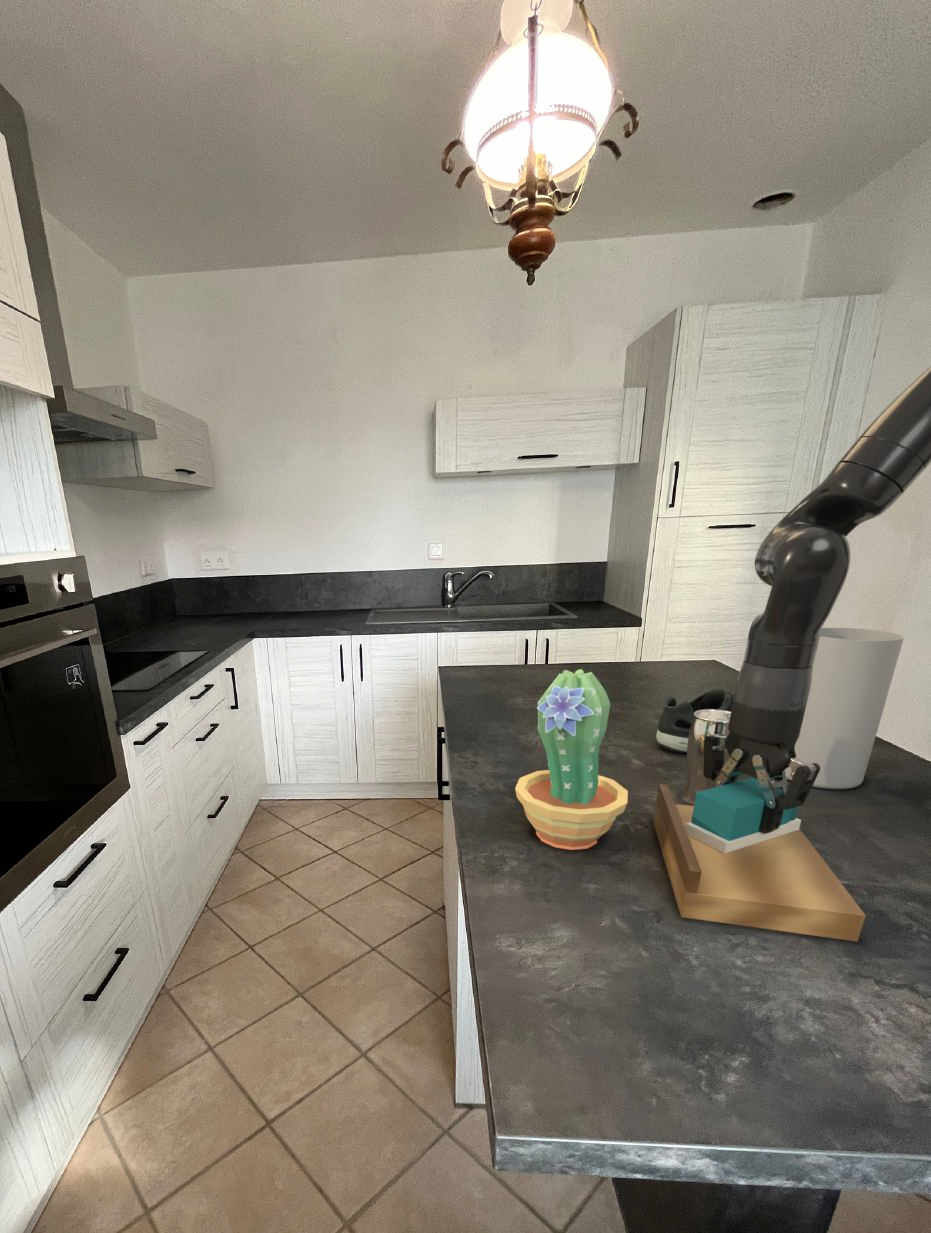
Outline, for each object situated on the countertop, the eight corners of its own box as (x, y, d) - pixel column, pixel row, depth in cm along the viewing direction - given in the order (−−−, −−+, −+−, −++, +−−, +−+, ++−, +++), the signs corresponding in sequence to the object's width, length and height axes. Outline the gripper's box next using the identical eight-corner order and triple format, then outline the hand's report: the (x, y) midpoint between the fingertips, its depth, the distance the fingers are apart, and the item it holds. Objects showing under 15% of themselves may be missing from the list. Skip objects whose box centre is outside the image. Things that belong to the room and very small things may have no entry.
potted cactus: (492, 827, 91) (498, 667, 82) (573, 807, 96) (587, 655, 87) (557, 877, 78) (574, 693, 69) (647, 851, 83) (674, 676, 74)
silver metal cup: (706, 816, 92) (723, 725, 86) (668, 799, 98) (682, 712, 92) (736, 807, 94) (755, 717, 89) (697, 791, 100) (713, 706, 95)
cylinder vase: (818, 795, 97) (858, 643, 88) (757, 767, 109) (786, 630, 100) (881, 786, 99) (925, 637, 91) (814, 760, 111) (848, 625, 102)
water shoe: (808, 745, 118) (822, 688, 114) (683, 763, 112) (693, 704, 108) (763, 729, 128) (775, 677, 124) (646, 745, 121) (653, 690, 117)
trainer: (756, 811, 84) (764, 773, 82) (799, 829, 79) (809, 788, 77) (683, 833, 79) (691, 792, 77) (724, 853, 74) (733, 810, 72)
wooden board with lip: (782, 839, 85) (793, 794, 82) (856, 946, 63) (873, 891, 61) (652, 826, 90) (659, 784, 87) (680, 922, 68) (690, 869, 66)
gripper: (853, 709, 68) (818, 839, 74) (736, 682, 80) (715, 795, 86) (810, 719, 65) (777, 853, 71) (696, 689, 78) (677, 805, 84)
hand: (743, 821), depth 79 cm, fingers closed on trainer, 5 cm apart
